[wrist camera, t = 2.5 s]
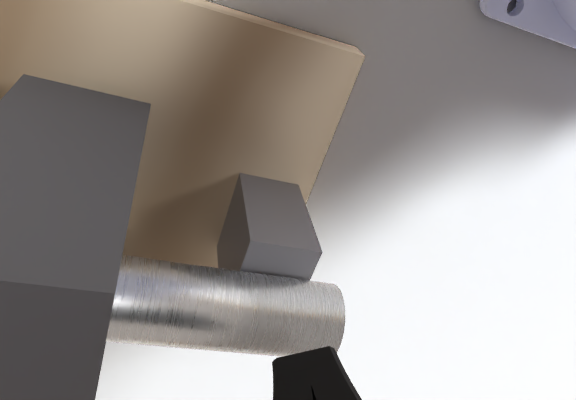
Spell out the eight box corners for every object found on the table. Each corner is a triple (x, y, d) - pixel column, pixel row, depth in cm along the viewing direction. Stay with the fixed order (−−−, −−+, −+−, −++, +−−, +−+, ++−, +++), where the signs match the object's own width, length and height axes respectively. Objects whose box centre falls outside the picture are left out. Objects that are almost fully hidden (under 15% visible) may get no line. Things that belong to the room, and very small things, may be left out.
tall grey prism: (151, 103, 12) (115, 293, 7) (113, 298, 16) (68, 537, 10) (23, 73, 12) (-146, 264, 6) (12, 287, 15) (-101, 542, 9)
